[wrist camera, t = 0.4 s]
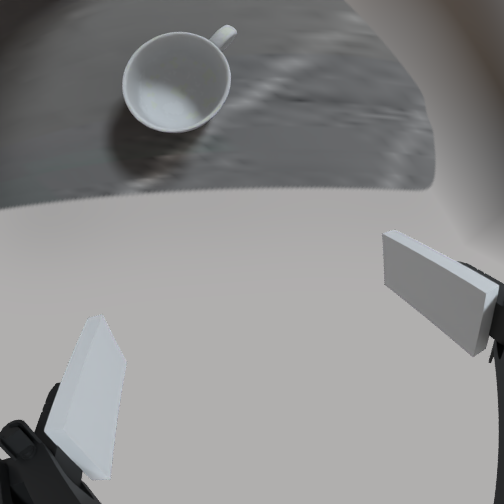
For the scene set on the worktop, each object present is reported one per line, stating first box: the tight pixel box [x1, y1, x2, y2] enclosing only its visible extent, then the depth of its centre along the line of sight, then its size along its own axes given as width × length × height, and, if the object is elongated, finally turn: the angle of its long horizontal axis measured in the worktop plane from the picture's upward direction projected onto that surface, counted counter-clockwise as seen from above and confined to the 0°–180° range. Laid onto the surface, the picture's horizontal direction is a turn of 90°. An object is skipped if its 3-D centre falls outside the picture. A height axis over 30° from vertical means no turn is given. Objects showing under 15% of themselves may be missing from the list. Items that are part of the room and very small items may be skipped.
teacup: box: [122, 25, 237, 133], centre depth 30 cm, size 14×11×8 cm
